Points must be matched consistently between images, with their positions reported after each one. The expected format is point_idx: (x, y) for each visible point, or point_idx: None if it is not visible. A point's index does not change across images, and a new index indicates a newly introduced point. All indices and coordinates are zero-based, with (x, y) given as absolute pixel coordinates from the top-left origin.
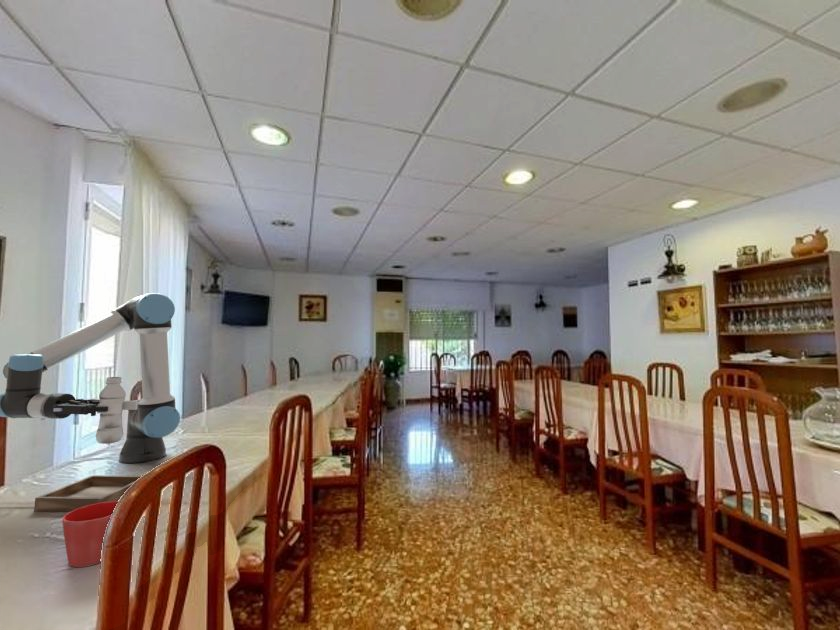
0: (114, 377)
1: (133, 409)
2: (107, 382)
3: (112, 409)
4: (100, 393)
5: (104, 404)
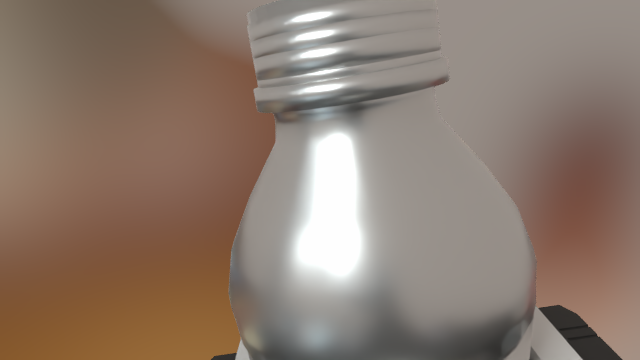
0: (265, 16)
1: None
2: (446, 59)
3: None
4: (520, 243)
5: (539, 314)
